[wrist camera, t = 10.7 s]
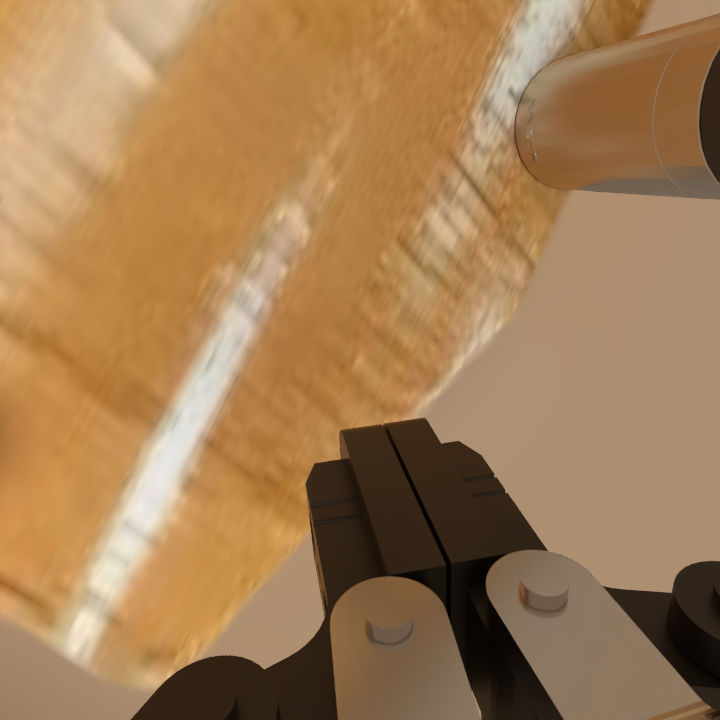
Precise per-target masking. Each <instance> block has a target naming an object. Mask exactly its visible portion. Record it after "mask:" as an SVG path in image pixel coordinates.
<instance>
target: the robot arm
mask: <svg viewBox="0 0 720 720" xmlns="http://www.w3.org/2000/svg"><path fill="white" fill-rule="evenodd" d="M515 135H516V141H517V148H518V151H519V153H520V156H521V159H522V161H523V163H524V164H525V166H526V168H527V169H528V171H529V172H530V173H531V174H532V175H533V176H534V177H535V178H536V179H537V180H539V181H540V182H542V183H544V184H545V185H547V186H551V187H554V188H558V189H571V190H586V191H596V192H610V193H625V194H641V195H656V196H671V197H685V198H701V199H719V200H720V13H719V14H716V15H713V16H709V17H706V18H702V19H699V20H695V21H692V22H688V23H684V24H681V25H677V26H674V27H670V28H667V29H663V30H659V31H656V32H652V33H649V34H645V35H642V36H638V37H634V38H631V39H627V40H624V41H620V42H617V43H613V44H610V45H606V46H602V47H598V48H595V49H591V50H588V51H584V52H580V53H577V54H573V55H570V56H566V57H563V58H561V59H558V60H556V61H553V62H552V63H550V64H549V65H547V66H546V67H544V68H543V69H542V70H541V71H540V72H539V73H538V74H537V75H536V76H535V77H534V78H533V79H532V80H531V82H530V84H529V85H528V87H527V88H526V90H525V91H524V94H523V96H522V99H521V101H520V104H519V107H518V112H517V116H516V130H515ZM339 438H340V452H341V459H340V460H334V461H327V462H321V463H315V464H314V466H313V468H312V471H311V473H310V475H309V477H308V479H307V482H306V490H307V499H308V508H309V517H310V526H311V534H312V543H313V551H314V559H315V564H316V570H317V576H318V581H319V587H320V593H321V598H322V604H323V610H324V615H325V618H324V621H323V623H322V625H321V627H320V629H319V631H318V632H317V633H316V634H315V636H314V637H313V638H312V639H311V640H310V641H309V642H308V643H307V644H306V645H305V646H304V647H303V648H302V649H300V650H299V651H298V652H296V653H294V654H293V655H291V656H289V657H288V658H286V659H284V660H282V661H280V662H278V663H276V664H274V665H272V666H270V667H269V668H267V669H265V670H264V669H263V668H262V667H261V666H259V665H258V664H256V663H254V662H253V661H251V660H248V659H245V658H242V657H237V656H215V657H209V658H206V659H202V660H199V661H196V662H194V663H192V664H190V665H187V666H186V667H184V668H182V669H181V670H179V671H177V672H176V673H175V674H174V675H172V676H171V677H170V678H168V679H167V680H166V681H165V682H164V683H163V684H162V685H161V686H160V687H159V688H158V689H157V690H156V692H155V693H154V694H153V695H152V696H151V697H150V698H149V700H148V701H147V702H146V703H145V704H144V705H143V706H142V707H141V709H140V710H139V711H138V712H137V713H136V714H135V715H134V717H133V718H132V719H131V720H720V562H719V561H706V562H699V563H695V564H691V565H689V566H687V567H685V568H684V569H682V570H681V571H680V572H679V573H678V575H677V576H676V578H675V581H674V585H673V589H672V593H664V592H651V591H636V590H623V589H615V588H609V587H605V586H602V585H601V584H600V583H599V582H598V580H597V579H596V578H595V577H594V576H593V575H592V574H591V573H590V572H589V571H588V570H587V569H586V568H584V567H583V566H582V565H580V564H578V563H577V562H576V561H574V560H572V559H570V558H568V557H565V556H563V555H560V554H557V553H554V552H549V551H548V550H547V549H546V548H545V546H544V545H543V543H542V542H541V540H540V539H539V538H538V536H537V535H536V533H535V532H534V531H533V529H532V527H531V526H530V525H529V524H528V522H527V520H526V519H525V517H524V516H523V515H522V513H521V512H520V510H519V509H518V507H517V506H516V505H515V503H514V502H513V500H512V499H511V498H510V496H509V494H508V493H505V489H504V488H503V486H502V484H501V483H500V482H499V480H498V479H497V478H495V477H494V473H493V472H492V470H491V469H490V467H489V466H488V464H487V463H486V462H485V460H484V459H483V457H482V456H481V455H480V454H479V453H477V452H475V451H474V450H472V449H471V448H469V447H467V446H466V445H464V444H463V443H461V442H459V441H455V442H449V443H443V444H441V443H440V441H439V439H438V438H437V436H436V434H435V433H434V431H433V430H432V428H431V426H430V424H429V423H428V421H427V420H426V419H425V418H419V419H413V420H406V421H399V422H392V423H385V424H383V426H382V425H381V424H380V425H373V426H366V427H359V428H353V429H346V430H340V434H339ZM472 691H473V693H474V696H475V698H476V701H477V703H478V705H479V708H480V711H481V719H480V716H479V713H478V710H477V707H476V703H475V700H474V697H473V694H472Z"/></svg>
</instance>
